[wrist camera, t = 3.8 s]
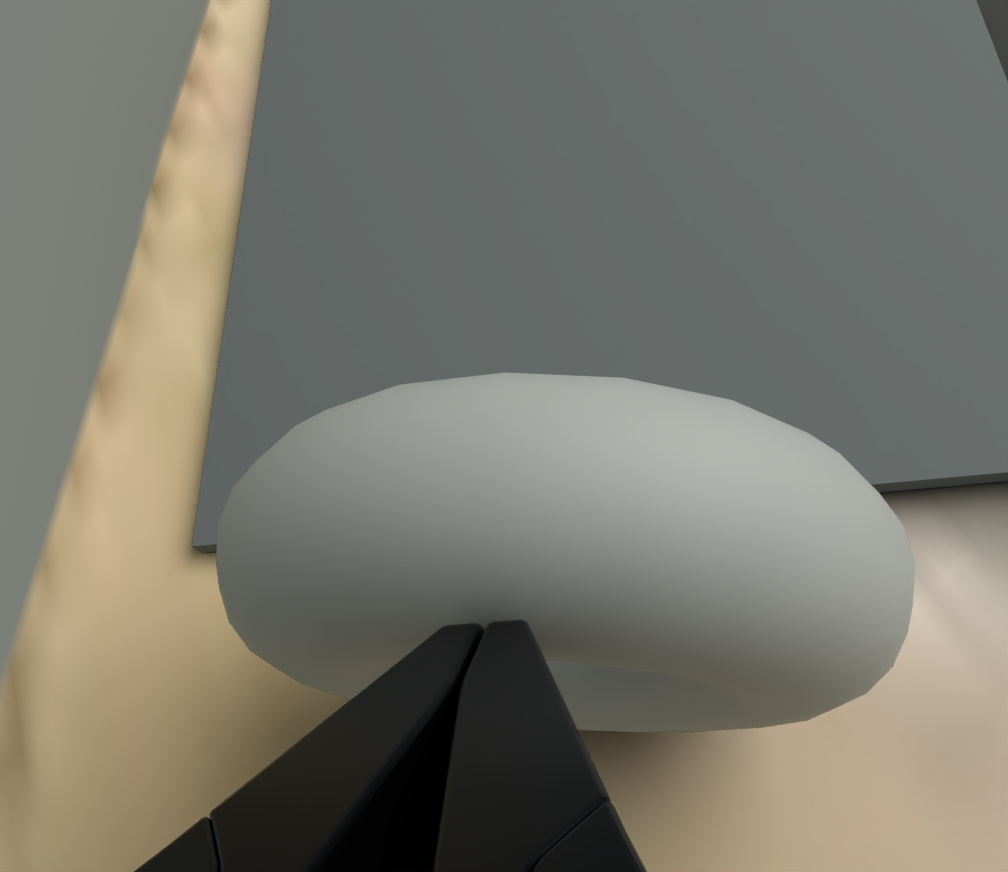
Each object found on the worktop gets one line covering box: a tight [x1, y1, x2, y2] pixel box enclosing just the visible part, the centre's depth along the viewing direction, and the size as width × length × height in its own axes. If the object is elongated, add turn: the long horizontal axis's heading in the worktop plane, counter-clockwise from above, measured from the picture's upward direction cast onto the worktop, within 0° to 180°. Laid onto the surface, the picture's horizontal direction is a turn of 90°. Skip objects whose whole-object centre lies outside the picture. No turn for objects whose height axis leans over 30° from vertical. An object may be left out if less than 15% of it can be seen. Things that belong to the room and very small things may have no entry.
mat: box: [192, 0, 1008, 553], centre depth 23 cm, size 20×20×1 cm
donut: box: [216, 373, 915, 732], centre depth 13 cm, size 10×3×10 cm, turn 86°
